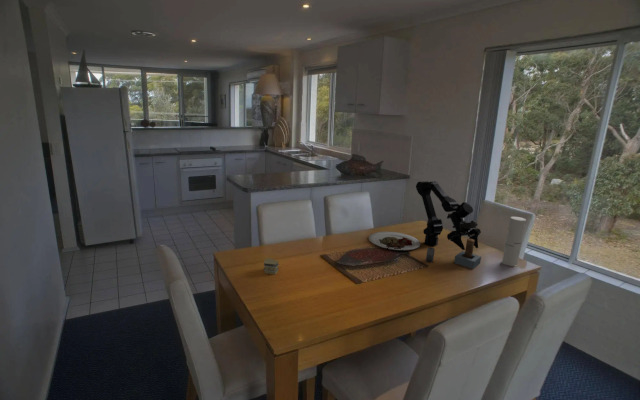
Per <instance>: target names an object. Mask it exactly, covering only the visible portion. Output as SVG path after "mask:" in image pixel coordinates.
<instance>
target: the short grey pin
mask: <svg viewBox="0 0 640 400" xmlns="http://www.w3.org/2000/svg"><path fill="white" fill-rule="evenodd" d="M426 249H427V250H426V257H425V261H426V262H427V263H433V262H434V256H435V251H436V250H435V248H433V247H432V246H430V247H429V246H428V247H427V248H426Z"/></svg>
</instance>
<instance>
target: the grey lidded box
mask: <svg viewBox="0 0 640 400" xmlns="http://www.w3.org/2000/svg"><path fill="white" fill-rule="evenodd" d="M279 265H280V264H279V260H276V259H273V258H270V257H268V258H264V261H263V271H264V274H267V275H268V274H269V275H274V276H275V275H276V274H277V273H278V272H279V269H280V268H279Z"/></svg>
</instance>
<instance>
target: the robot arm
mask: <svg viewBox="0 0 640 400" xmlns="http://www.w3.org/2000/svg"><path fill="white" fill-rule="evenodd" d="M415 188H416V191H417V193H418V195H420V197H421V198H422V202H423V203H422V204H423V206H424V208H425V213H426V217H427V221H426V228H424V229H423V234H424V235H425V237H424V242H423V245H427V246H430V247H435V246H437V245H438V244H439V237H438V236H441V234H442V232H443V230H444V224H443V221H442V219H441V218H438V216H437V214H436V210H435V207H434V204H433V200H432V197H431V192H433V194H434V195H435V196H436V198H437V199H438V200H439V201H440V202H441V207H442V209H443V211H444V212H446V213H447V216H446V219H448V220H449V219H450V220H451V221H450V222H452V228H453V229H455V230H452V231H450V232H449V233H447V234H446V236H447V237H446V238H447V239H448V241H450V242H453V243H454V244H455V245H456V246H458V247H459V248H460V249H461V250H462V251H465V249H466V247H465V245H464V243H463V240H462V237H464V236H467V237H469V238H468V239H473V240H475V241H474V247H475V249H479V241H478V239H479V238H478V237H479V235H481V233H482V231H481V229H480V228H478V222H477V221H476V219H474V220H471V221H469V222H467V221H466V220H464V219H466V218H467V217H469V215H471V214H472V213H473V212H474V208H473V206H471V204H469V203H467V201H464V202H462V203H461V204H459V202H458V201H456V200H455V199H454V198H452V197H450V196H449V195H448V194H447V193H446V192H445V190H444V189H443V188H442V186H440V184H439V183H438V181H429V180H427V181H418V182H417V183H416V184H415Z"/></svg>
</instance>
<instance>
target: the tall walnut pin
mask: <svg viewBox="0 0 640 400" xmlns="http://www.w3.org/2000/svg"><path fill="white" fill-rule="evenodd" d="M474 241H475V240H473V239H469V238H467V239H466V243H465V245H466V246H465V250H464V252H465V255H464V257H466V258H469V259H472V254H474V253H473V252H474V247H475V246H474Z"/></svg>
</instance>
